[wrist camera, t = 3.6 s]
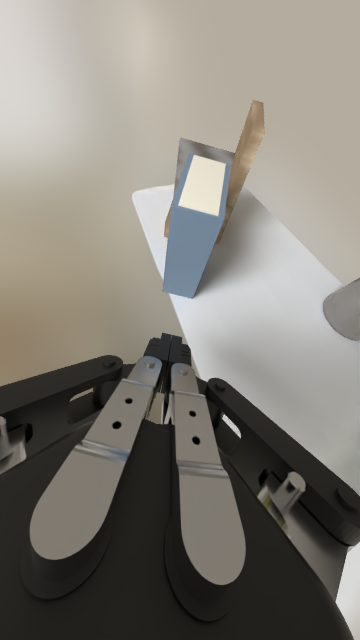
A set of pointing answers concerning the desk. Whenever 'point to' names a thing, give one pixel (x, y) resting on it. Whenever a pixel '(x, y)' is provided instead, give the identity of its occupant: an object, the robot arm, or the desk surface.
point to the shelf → (227, 159)
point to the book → (194, 223)
